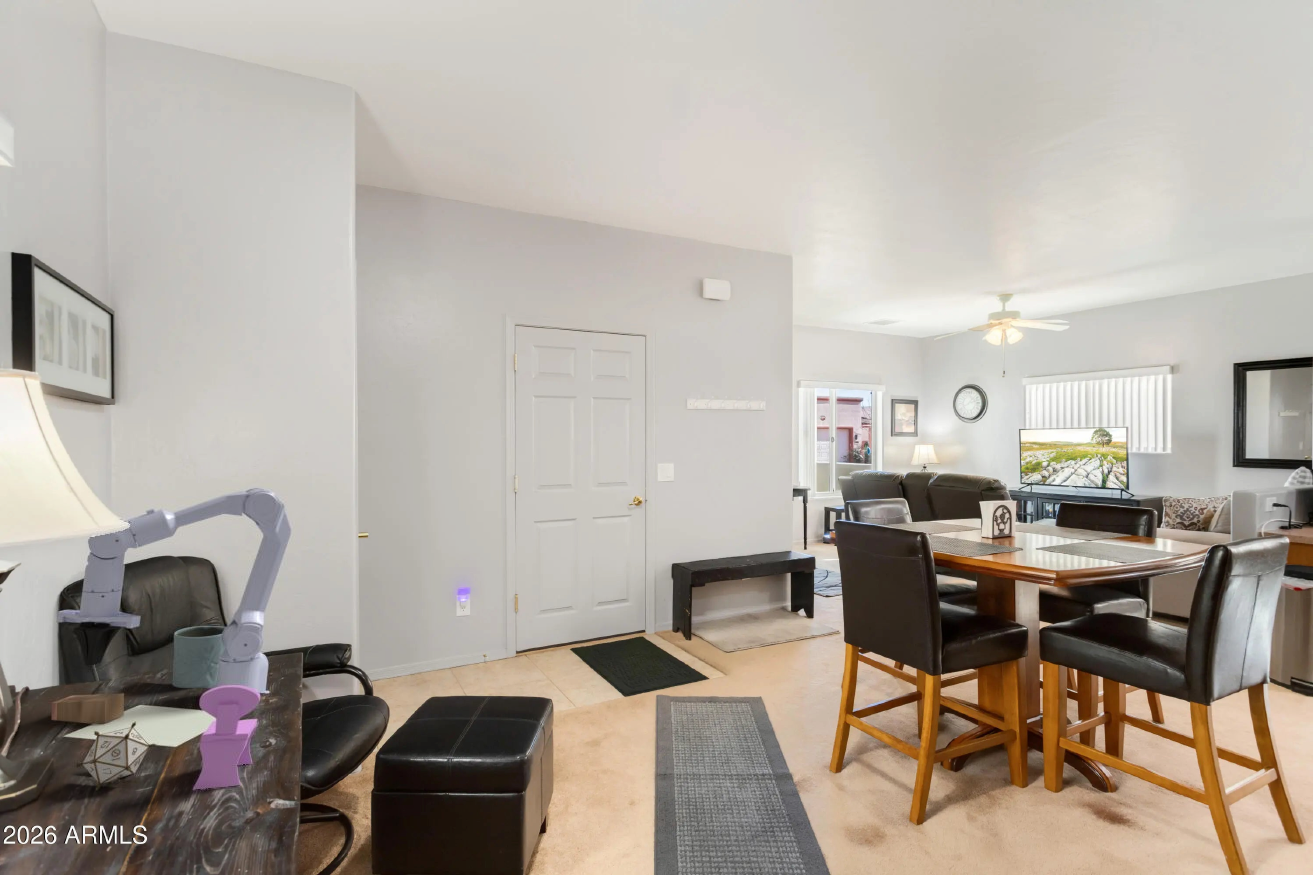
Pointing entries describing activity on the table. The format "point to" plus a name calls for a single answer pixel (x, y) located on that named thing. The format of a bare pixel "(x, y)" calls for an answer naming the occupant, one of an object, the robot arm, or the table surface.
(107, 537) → the robot arm
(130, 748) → the game die
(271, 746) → the table surface
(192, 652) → the green cylindrical pot
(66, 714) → the walnut block
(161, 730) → the board
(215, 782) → the toy chair
